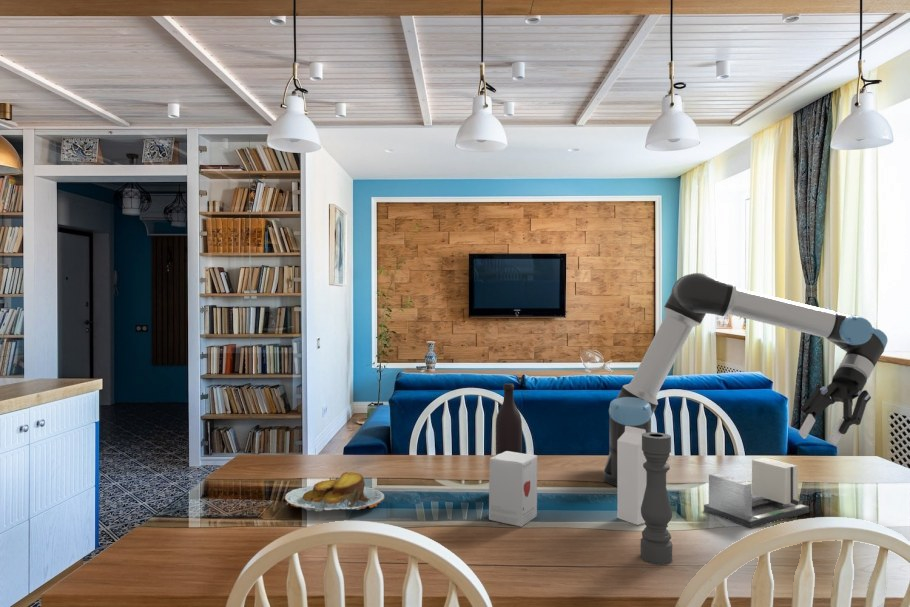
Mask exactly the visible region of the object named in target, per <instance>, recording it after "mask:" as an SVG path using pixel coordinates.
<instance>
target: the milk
mask: <svg viewBox="0 0 910 607" xmlns="http://www.w3.org/2000/svg"><path fill="white" fill-rule="evenodd" d="M643 433H646V430H645V429H640V428H635V427H630V426H625V432H624V433H623V434H622V436H621V437H620V438H619V439H618V440H617V486H616V488H617V490H616V492H617V495H616V496H617V499H616V500H617V501H616V502H617V506H616V508H617V511H616V513H617V516H616V518H617V519H619V520H622V521H624V522H628V523H630V524H633V525H636V526H640V525H642V524H643V525H644V524H645V521H644V520H643V518H642V515H641V505H642V501H643V497H644V493H645V489H646V469H644V467H643V463H645V462H646V461H647V460H646V459H645V456H644V454H643V451H642V434H643Z"/></svg>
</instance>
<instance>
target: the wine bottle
mask: <svg viewBox="0 0 910 607" xmlns="http://www.w3.org/2000/svg"><path fill="white" fill-rule="evenodd" d="M502 387H503V388H502V389H503V402H502V403H501V406H500V407H499V410H498V411H497V415H496V418H495V456H496V455H498V454H501V453H503V452H505V451H510V452H517V453H523V424H522V422H523V421H522V417H521V414H520V411H519V409H518V407H517V405H516V403H515V398H514V390H515V385H514V383H503V386H502Z"/></svg>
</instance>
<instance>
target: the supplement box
mask: <svg viewBox="0 0 910 607" xmlns="http://www.w3.org/2000/svg"><path fill="white" fill-rule="evenodd" d="M488 461H489V466H488V469H489V470H488V473H489V474H488V476H489V477H488V478H489V479H488V483H489V484H488V520H490V521H494V522H497V523H498V522H499V523H503V524H508V525H511V526H512V525H513V526H516V527H521V528H522V527H523V526H524V525H526V524H528V523H529V522H530V521H532V520H533V519H534V518H536V517H537V516H538V455H536V454H529V453H523V452H522V453H517V452H510V451H505V452H503V453H501V454H498V455H496V454H495V455H494V456H492V457H489V460H488Z"/></svg>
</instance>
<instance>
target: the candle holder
mask: <svg viewBox="0 0 910 607" xmlns="http://www.w3.org/2000/svg"><path fill="white" fill-rule="evenodd" d="M642 451H643V454H644V456H645V459H646V460H647V461H646V462H645V463H643V467H644V469H646V489H645V493H644V497H643V501H642V505H641V515H642V518H643V520H644V521H645V523H644V524H645V528H644V529H643V530H642V531H641V537H642V538H640V558H641V560H643V561H644V562H646V563H648V564H649V563H650V564H653V565H661V566H662V565H669V564H672V562H673V542H672V541H671V539H672V535H671V533H670V532H669V530H668V529H667V528H668V527H669V525H668V524H669V523H670V522H671V520H672V517H673V509H672V507H671V502H670V497H669V493H668V490H667V473H668V471H669V470H670V468H671V467H670V464H668V463H667V461H668V459H669V458H670V453H672V436H671V435H670V434H667V433H663V432H652V431H651V432H650V433H643V434H642Z"/></svg>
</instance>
